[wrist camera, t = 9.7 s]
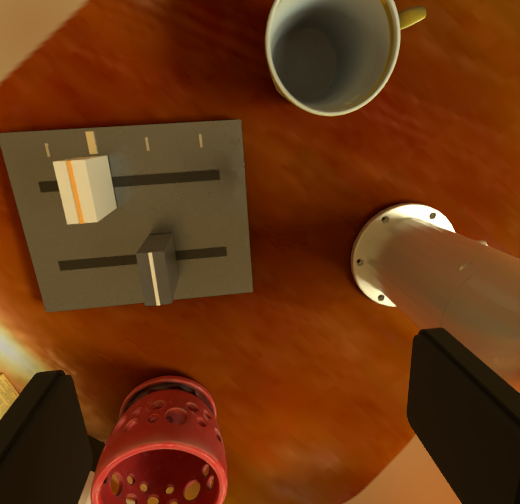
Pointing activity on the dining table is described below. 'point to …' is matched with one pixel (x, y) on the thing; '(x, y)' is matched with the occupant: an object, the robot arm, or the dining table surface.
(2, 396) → the candy box
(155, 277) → the fader cap
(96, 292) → the console board
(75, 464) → the robot arm
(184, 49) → the dining table surface
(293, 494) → the dining table surface
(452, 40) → the dining table surface
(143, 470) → the plant pot
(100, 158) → the fader cap
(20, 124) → the dining table surface
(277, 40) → the ceramic cup
